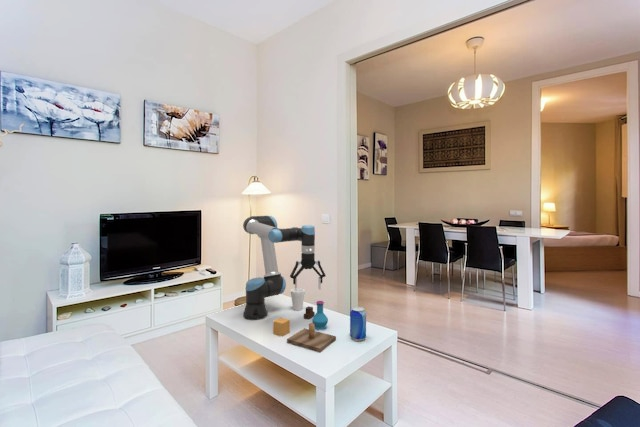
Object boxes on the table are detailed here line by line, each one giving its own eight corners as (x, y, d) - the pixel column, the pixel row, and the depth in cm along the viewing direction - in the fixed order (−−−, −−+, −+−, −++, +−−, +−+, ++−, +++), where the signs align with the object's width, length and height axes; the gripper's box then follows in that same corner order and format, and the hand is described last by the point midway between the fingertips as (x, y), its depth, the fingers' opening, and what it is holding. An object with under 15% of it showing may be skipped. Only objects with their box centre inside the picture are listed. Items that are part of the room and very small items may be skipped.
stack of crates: (315, 325, 185) (314, 313, 184) (294, 320, 192) (294, 309, 192) (327, 317, 197) (327, 306, 197) (308, 312, 205) (308, 302, 205)
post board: (286, 342, 160) (286, 325, 159) (304, 331, 173) (304, 315, 173) (319, 352, 149) (319, 334, 149) (335, 340, 163) (335, 323, 162)
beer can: (369, 338, 165) (369, 308, 165) (360, 343, 159) (360, 312, 158) (356, 333, 171) (356, 304, 170) (346, 338, 165) (346, 308, 164)
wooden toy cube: (273, 333, 171) (273, 321, 171) (280, 329, 176) (280, 317, 176) (282, 336, 167) (282, 323, 167) (289, 332, 173) (289, 319, 173)
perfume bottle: (308, 326, 180) (308, 301, 180) (321, 322, 186) (321, 298, 186) (319, 331, 173) (319, 305, 173) (331, 327, 179) (331, 301, 179)
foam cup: (288, 309, 209) (287, 290, 209) (296, 306, 217) (296, 287, 216) (298, 312, 204) (298, 293, 203) (307, 308, 211) (307, 289, 211)
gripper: (286, 254, 171) (286, 292, 172) (330, 253, 175) (330, 290, 176) (285, 252, 178) (285, 288, 179) (328, 251, 182) (327, 286, 183)
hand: (307, 289), depth 177 cm, fingers open, 13 cm apart
